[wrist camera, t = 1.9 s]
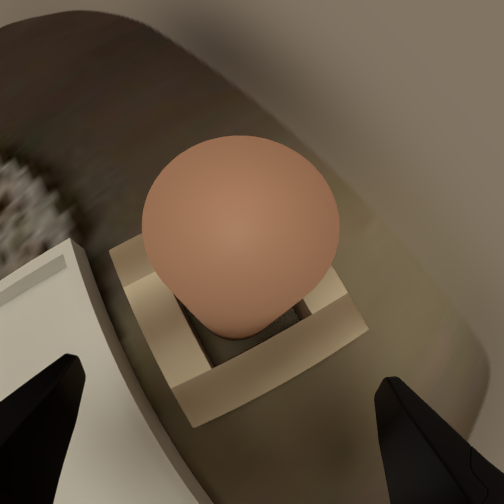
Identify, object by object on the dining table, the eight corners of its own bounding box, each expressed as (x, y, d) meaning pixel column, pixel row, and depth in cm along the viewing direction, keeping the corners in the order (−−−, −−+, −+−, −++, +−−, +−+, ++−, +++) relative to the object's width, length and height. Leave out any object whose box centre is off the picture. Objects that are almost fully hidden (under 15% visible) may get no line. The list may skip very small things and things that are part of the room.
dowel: (288, 316, 20) (374, 256, 8) (218, 353, 19) (195, 356, 7) (250, 250, 21) (276, 115, 9) (182, 284, 20) (117, 180, 8)
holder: (350, 333, 20) (368, 329, 17) (198, 417, 18) (193, 428, 15) (268, 195, 23) (273, 172, 20) (124, 264, 20) (108, 250, 18)
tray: (216, 506, 16) (214, 523, 13) (66, 541, 13) (54, 554, 10) (84, 250, 20) (69, 237, 18) (-35, 323, 18) (-53, 318, 15)
